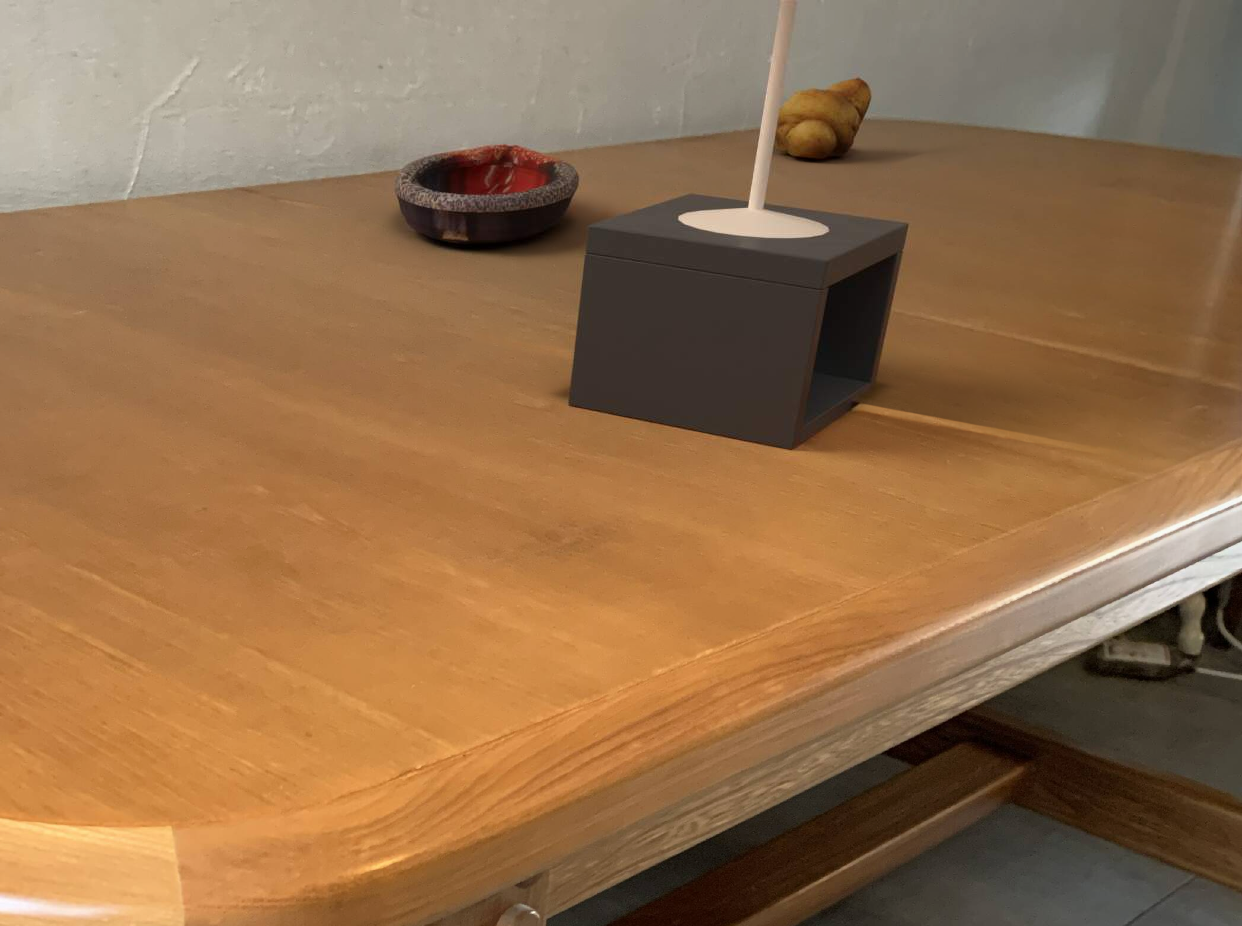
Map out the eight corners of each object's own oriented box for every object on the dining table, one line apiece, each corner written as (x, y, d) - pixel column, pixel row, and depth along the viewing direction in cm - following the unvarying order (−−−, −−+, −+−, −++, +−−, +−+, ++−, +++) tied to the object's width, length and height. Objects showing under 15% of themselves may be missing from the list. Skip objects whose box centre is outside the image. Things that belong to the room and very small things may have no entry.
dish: (355, 245, 138) (357, 179, 136) (441, 189, 163) (444, 132, 160) (540, 263, 135) (546, 196, 132) (598, 204, 160) (605, 146, 157)
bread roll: (833, 166, 187) (848, 85, 182) (750, 157, 191) (762, 77, 186) (865, 154, 196) (880, 77, 192) (784, 145, 200) (797, 69, 196)
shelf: (873, 395, 105) (909, 223, 100) (791, 450, 94) (827, 260, 89) (666, 357, 111) (689, 193, 106) (567, 405, 100) (587, 224, 95)
